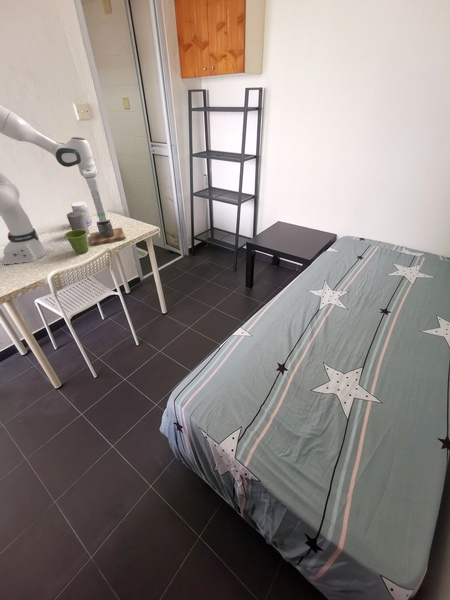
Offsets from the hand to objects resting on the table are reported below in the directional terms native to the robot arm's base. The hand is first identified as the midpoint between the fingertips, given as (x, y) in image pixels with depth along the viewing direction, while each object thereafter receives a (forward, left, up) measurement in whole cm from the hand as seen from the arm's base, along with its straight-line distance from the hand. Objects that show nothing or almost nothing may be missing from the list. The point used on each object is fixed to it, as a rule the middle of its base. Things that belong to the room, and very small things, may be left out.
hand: (95, 196), depth 165 cm
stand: (0, 0, -26) cm, 26 cm away
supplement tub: (-12, +32, -26) cm, 43 cm away
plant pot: (-16, -13, -26) cm, 33 cm away
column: (0, 0, -15) cm, 15 cm away
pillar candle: (-15, +15, -26) cm, 34 cm away
